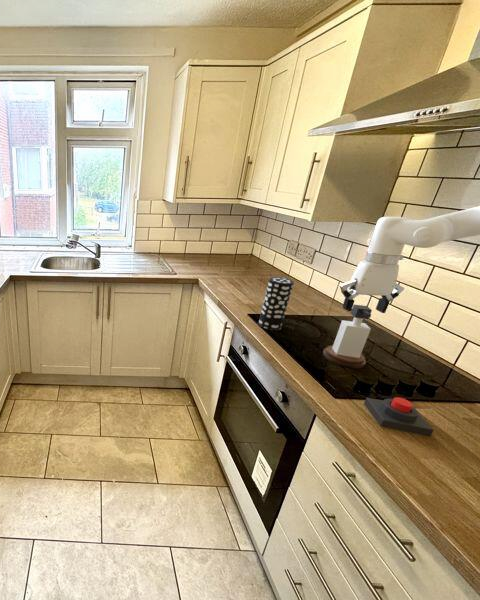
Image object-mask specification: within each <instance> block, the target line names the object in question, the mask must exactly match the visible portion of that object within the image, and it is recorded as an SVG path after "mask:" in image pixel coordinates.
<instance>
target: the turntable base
mask: <svg viewBox="0 0 480 600" xmlns="http://www.w3.org/2000/svg"><path fill="white" fill-rule="evenodd" d="M326 348H327V347H325V348H324V349H323V351H322V356H323V357H324V358H325V359H326V360H328V361H330V362H331V363H333V364H335V365H338V366H341V367H344V368H348V369H349V368H350V369H362V368H364V367H365V366H366V363H367V360H366V359H365V360H364V362H362V363H349V362H344V361H341V360H338V359H336V358H334V357H332V356H331V355H329V354H328V353H327V352H326Z"/></svg>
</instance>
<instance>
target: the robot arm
mask: <svg viewBox="0 0 480 600" xmlns="http://www.w3.org/2000/svg"><path fill="white" fill-rule="evenodd" d="M373 230H374V231H373V233H372V236H371V239H370V243H369V245H368V248H367V250H366V253H365V258H364V260H361V261H360V262H359V263H358V265H357V266H356V268H355V270H354V272H353V274H352V277H351V278H350V280H348V281H346V282H344V283H340V284H339V288H340V292H341V293H342V295H343V297H344V300H343V303H342V309H344V310H345V311H347V312H351V311H352V308H353V305H355V304H354V303H355V298H356V297H357V296H359V295H361V296H381V297H380V298H379V299H378V301H377V304H376V307H375V310H376V311H378V312H380V313H382V314H386V312H387V310H388V307H389V304H390V302H393V301H394V299H396V298H398V297H399V296H400V294H402V292H404V290H405V287H403V286H401V285H400V284H398V283H397V280H398V277H399V270H400V264H399V261H403V259H404V256H403V255H402V252H403V250H404V248H405V246H411V247H415V248H421V249H428V248H433V247H437V246H438V245H441V244H442V243H445V242H451V241H455V240H460V239H465V238H470V237H475V236H476V237H477V236H480V205H478V206H475V207H470V208H467V209H461V210H458V211H455V212H450V213H446V214H442V215H437V216H434V217H430V218H426V219H411V218H409V217H404V216H391V215H390V216H382V217H380V218H378V220H377V222H376V224H375V227H374V229H373Z"/></svg>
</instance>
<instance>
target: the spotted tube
mask: <svg viewBox="0 0 480 600" xmlns="http://www.w3.org/2000/svg"><path fill="white" fill-rule="evenodd" d="M294 284H295V283H294V280H292V279H289V278H286V277H281V276H280V277H279V276H273V277H272V276H271V277H269V279H268V283H267V287H266V291H265V294H264V295H265V296H264V299H263V304H262V307H261V312H260V315H259V318H258V319H259V320H258V323H257V324H258V325H259V326H260V327H261V328H263V329H266V330H270V331H280V330H281V329H282V326H283V322H284V319H285V316H286V312H287V309H288V304H289V301H290V297H291V294H292V292H293V291H292V290H293V287H294Z"/></svg>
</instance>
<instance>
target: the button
mask: <svg viewBox="0 0 480 600" xmlns="http://www.w3.org/2000/svg"><path fill="white" fill-rule="evenodd" d="M392 399H393V401H392V403H391V406H392V407H393V408H395V409H396V410H399V411H401V412H405V413H410V411H411V409H412V407H414V404H413V403H412V401H409V400H407V399H406V398H403V397H399V396H396V397H394V398H392Z"/></svg>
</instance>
